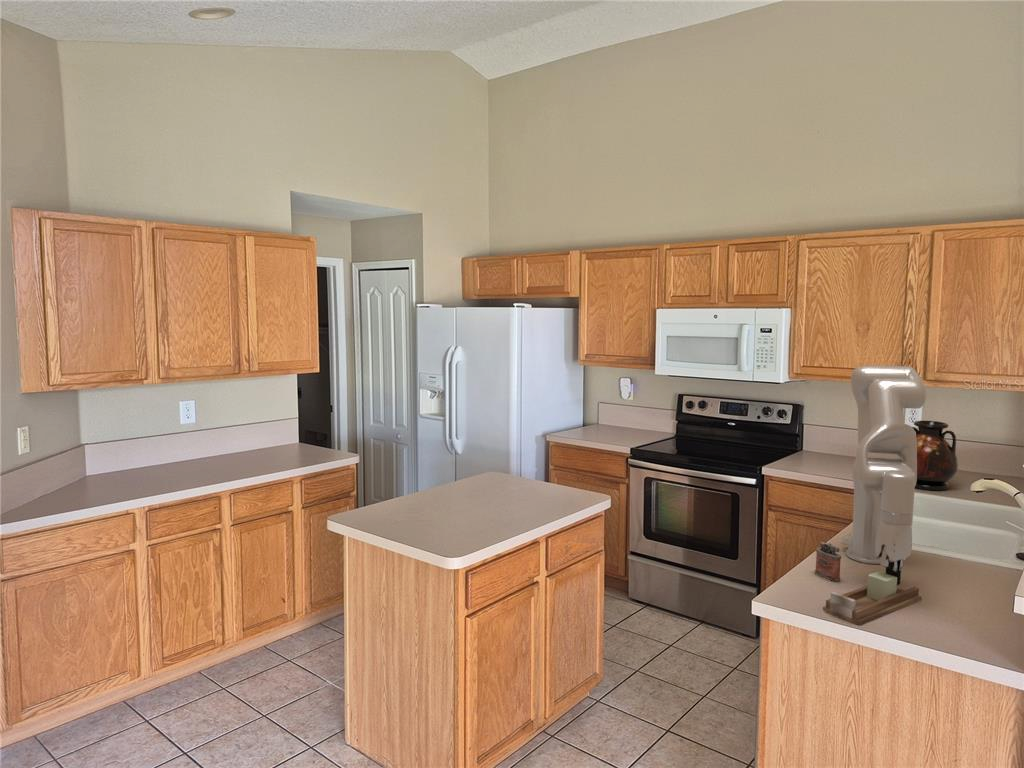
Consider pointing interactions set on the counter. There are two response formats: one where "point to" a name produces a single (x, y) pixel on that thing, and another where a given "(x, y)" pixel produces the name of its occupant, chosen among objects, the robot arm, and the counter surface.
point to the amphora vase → (934, 456)
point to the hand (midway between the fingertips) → (892, 583)
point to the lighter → (828, 562)
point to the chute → (868, 604)
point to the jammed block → (881, 586)
